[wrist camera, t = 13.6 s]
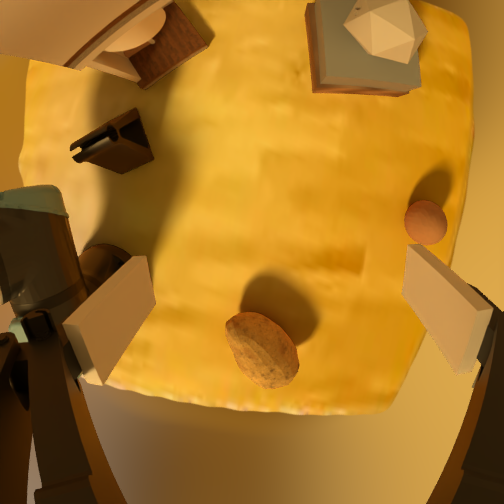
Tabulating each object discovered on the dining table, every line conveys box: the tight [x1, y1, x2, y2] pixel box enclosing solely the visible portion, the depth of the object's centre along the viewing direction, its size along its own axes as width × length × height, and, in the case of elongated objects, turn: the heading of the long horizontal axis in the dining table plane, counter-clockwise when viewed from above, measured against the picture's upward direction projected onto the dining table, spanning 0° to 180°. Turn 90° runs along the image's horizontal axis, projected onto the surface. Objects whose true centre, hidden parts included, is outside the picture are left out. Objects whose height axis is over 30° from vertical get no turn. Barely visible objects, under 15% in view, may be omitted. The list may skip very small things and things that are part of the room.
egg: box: [404, 200, 447, 245], centre depth 41 cm, size 6×6×8 cm
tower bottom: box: [305, 3, 409, 97], centre depth 35 cm, size 13×13×5 cm
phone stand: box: [70, 108, 154, 174], centre depth 38 cm, size 9×6×12 cm, turn 18°
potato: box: [225, 312, 299, 389], centre depth 49 cm, size 10×14×10 cm
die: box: [343, 0, 428, 64], centre depth 24 cm, size 8×9×10 cm
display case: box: [0, 0, 208, 90], centre depth 22 cm, size 11×11×35 cm
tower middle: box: [314, 0, 421, 92], centre depth 30 cm, size 12×12×5 cm
